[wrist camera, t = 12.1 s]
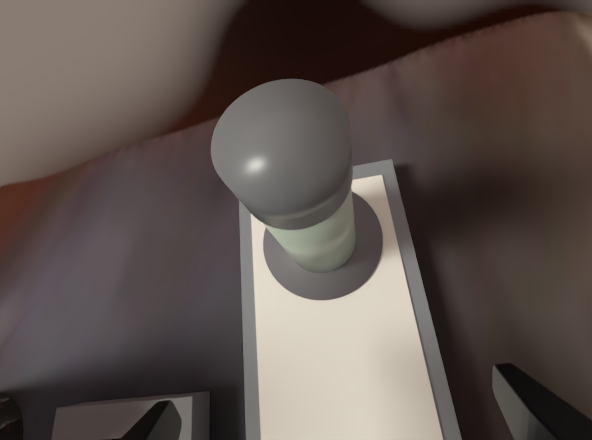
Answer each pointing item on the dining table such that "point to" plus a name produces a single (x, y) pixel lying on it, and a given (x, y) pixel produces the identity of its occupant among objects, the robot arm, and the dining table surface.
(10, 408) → the deodorant
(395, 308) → the board
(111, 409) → the button housing
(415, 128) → the dining table surface
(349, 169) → the knob
